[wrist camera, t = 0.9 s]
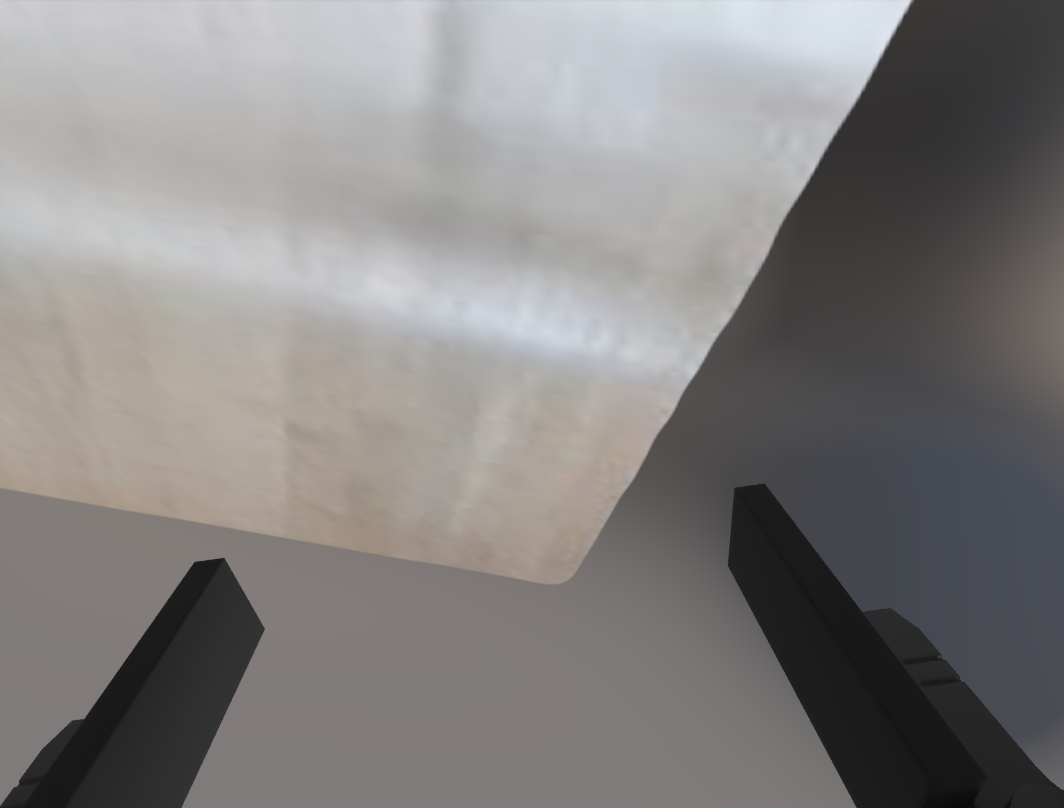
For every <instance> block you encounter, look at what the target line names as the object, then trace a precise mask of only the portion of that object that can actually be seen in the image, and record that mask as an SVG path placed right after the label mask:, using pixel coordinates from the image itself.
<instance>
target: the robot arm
mask: <svg viewBox="0 0 1064 808" xmlns="http://www.w3.org/2000/svg"><path fill="white" fill-rule="evenodd" d="M731 525H732V526H731V535H730V547H729V559H728V567H729V569H730V571H731V572H732V574H733V576H734V578H735V580H736V582H737V584H738V586H739V587H740V589H741V591H742V593H743V595H744V597H745V599H746V601H747V602H748V604H749V606H750V608H751V610H752V612H753V614H754V615H755V618H756V619H757V621H758V623H759V625H760V627H761V629H762V631H763V633H764V634H765V636H766V638H767V640H768V642H769V644H770V646H771V648H772V650H773V651H774V653H775V655H776V657H777V659H778V661H779V663H780V665H781V666H782V668H783V670H784V672H785V674H786V676H787V678H788V679H789V681H790V683H791V685H792V687H793V689H794V691H795V693H796V695H797V697H798V698H799V700H800V702H801V704H802V706H803V708H804V710H805V712H806V713H807V715H808V717H809V719H810V721H811V723H812V725H813V726H814V728H815V730H816V732H817V734H818V736H819V738H820V740H821V742H822V744H823V745H824V747H825V749H826V751H827V753H828V755H829V757H830V759H831V760H832V762H833V764H834V766H835V768H836V770H837V772H838V773H839V775H840V777H841V779H842V781H843V783H844V785H845V787H846V789H847V790H848V792H849V794H850V796H851V798H852V800H853V802H854V804H855V806H856V807H857V808H1064V790H1062V789H1060V788H1059V787H1057V786H1056V785H1055V784H1054V783H1052V782H1051V781H1050V780H1049V779H1048V778H1047V777H1046V776H1045V775H1044V774H1043V773H1042V772H1041V771H1040V770H1039V769H1038V768H1037V767H1036V766H1035V765H1034V764H1033V762H1032V761H1031V760H1030V759H1029V758H1028V756H1027V755H1026V754H1025V753H1024V752H1023V751H1022V749H1021V748H1020V747H1019V746H1018V745H1017V743H1016V742H1015V741H1014V740H1013V739H1012V738H1011V736H1010V735H1009V734H1008V733H1007V732H1006V731H1005V729H1004V728H1003V727H1002V726H1001V725H1000V724H999V722H998V721H997V720H996V719H995V718H994V716H993V715H992V714H991V713H990V712H989V711H988V709H987V708H986V707H985V706H984V705H983V703H982V702H981V701H980V700H979V699H978V698H977V696H976V695H975V694H974V693H973V692H972V690H971V689H970V688H969V687H968V686H967V685H966V684H965V682H962V681H961V680H960V676H959V675H958V674H957V673H956V672H955V671H954V669H953V668H952V667H951V666H950V665H949V663H948V662H947V661H946V660H943V659H942V657H941V654H940V653H939V652H938V651H937V649H936V648H935V647H934V646H933V645H932V643H931V642H930V641H929V640H928V639H927V638H926V636H925V635H924V634H923V633H922V632H921V630H920V629H919V628H917V627H916V626H914V625H913V624H912V623H910V622H909V621H907V620H906V619H905V618H903V617H902V616H900V615H899V614H898V613H896V612H895V611H894V610H892V609H891V608H889V609H880V610H873V611H866V612H862V611H861V610H860V609H859V607H858V606H857V605H856V603H855V602H854V601H853V600H852V598H851V597H850V595H849V594H848V593H847V592H846V590H845V589H844V588H843V586H842V585H841V584H840V582H839V581H838V580H837V578H836V577H835V576H834V574H833V573H832V572H831V571H830V569H829V568H828V566H827V565H826V564H825V563H824V561H823V560H822V559H821V557H820V556H819V555H818V553H817V552H816V551H815V549H814V548H813V547H812V545H811V544H810V543H809V542H808V540H807V539H806V538H805V536H804V535H803V534H802V532H801V531H800V530H799V528H798V527H797V526H796V524H795V523H794V522H793V520H792V519H791V518H790V516H789V515H788V514H787V513H786V511H785V510H784V509H783V507H782V506H781V505H780V503H779V502H778V501H777V499H776V498H775V497H774V495H773V494H772V493H771V491H770V490H769V489H768V488H767V486H766V485H765V484H759V485H752V486H744V487H737V488H735V490H734V502H733V512H732V524H731ZM264 629H265V628H264V627H263V625H262V624H261V621H260V620H259V618H258V616H257V614H256V613H255V611H254V609H253V607H252V606H251V604H250V602H249V600H248V599H247V597H246V595H245V594H244V592H243V590H242V588H241V586H240V585H239V583H238V581H237V579H236V578H235V576H234V574H233V572H232V571H231V569H230V567H229V565H228V564H227V562H226V560H225V558H221V559H213V560H206V561H198V562H194V564H193V565H192V567H191V568H190V570H189V571H188V572H187V574H186V575H185V577H184V578H183V580H182V581H181V582H180V584H179V585H178V586H177V588H176V589H175V591H174V592H173V594H172V595H171V597H170V598H169V599H168V601H167V602H166V604H165V605H164V606H163V608H162V609H161V611H160V612H159V614H158V615H157V616H156V618H155V619H154V621H153V622H152V624H151V625H150V626H149V628H148V629H147V631H146V632H145V634H144V635H143V636H142V638H141V639H140V641H139V642H138V643H137V645H136V646H135V648H134V649H133V651H132V652H131V653H130V655H129V656H128V658H127V659H126V661H125V662H124V664H123V665H122V666H121V668H120V669H119V670H118V672H117V673H116V675H115V676H114V678H113V679H112V681H111V682H110V683H109V685H108V686H107V688H106V689H105V690H104V692H103V693H102V695H101V696H100V698H99V699H98V700H97V702H96V703H95V705H94V706H93V707H92V709H91V710H90V712H89V713H88V715H87V716H86V718H85V719H81V720H73V721H72V722H70V723H69V724H68V725H67V726H66V727H65V728H64V729H63V730H62V731H61V732H60V733H59V734H58V735H57V736H56V737H55V738H53V739H52V740H51V741H50V742H49V743H48V744H47V745H46V746H45V747H44V748H43V749H42V750H41V752H40V753H39V754H38V756H37V757H36V758H35V760H34V761H33V762H32V764H31V765H30V767H29V768H28V769H27V771H26V772H25V773H24V775H23V776H22V777H21V779H20V780H19V785H18V786H17V787H14V788H13V790H12V791H11V792H10V794H9V795H8V796H7V798H6V799H5V800H4V802H3V803H2V804H1V806H0V808H182V805H183V803H184V801H185V799H186V797H187V795H188V793H189V790H190V788H191V786H192V784H193V782H194V780H195V778H196V775H197V773H198V771H199V769H200V767H201V765H202V763H203V760H204V758H205V756H206V754H207V752H208V750H209V748H210V745H211V743H212V741H213V739H214V737H215V735H216V732H217V730H218V728H219V726H220V724H221V722H222V720H223V717H224V715H225V713H226V711H227V709H228V707H229V704H230V703H231V700H232V698H233V696H234V694H235V692H236V690H237V688H238V685H239V683H240V681H241V679H242V677H243V675H244V673H245V670H246V668H247V666H248V664H249V662H250V660H251V657H252V655H253V653H254V651H255V649H256V647H257V645H258V642H259V640H260V638H261V636H262V634H263V632H264Z"/></svg>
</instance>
